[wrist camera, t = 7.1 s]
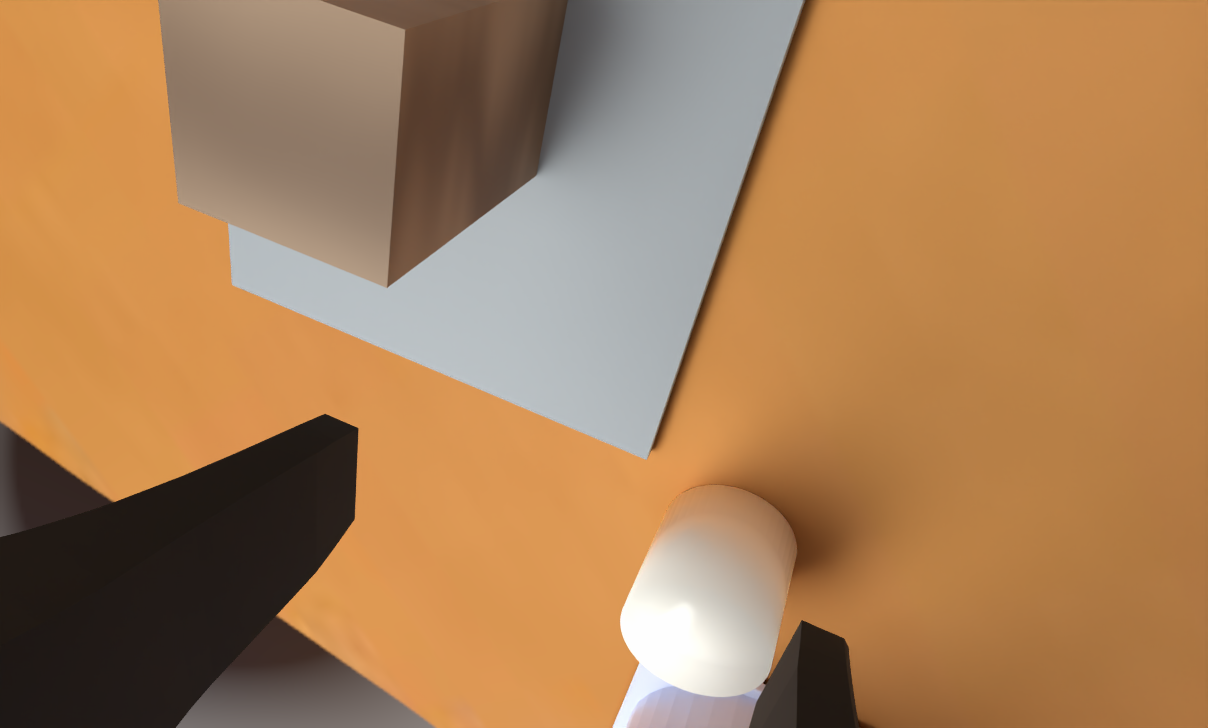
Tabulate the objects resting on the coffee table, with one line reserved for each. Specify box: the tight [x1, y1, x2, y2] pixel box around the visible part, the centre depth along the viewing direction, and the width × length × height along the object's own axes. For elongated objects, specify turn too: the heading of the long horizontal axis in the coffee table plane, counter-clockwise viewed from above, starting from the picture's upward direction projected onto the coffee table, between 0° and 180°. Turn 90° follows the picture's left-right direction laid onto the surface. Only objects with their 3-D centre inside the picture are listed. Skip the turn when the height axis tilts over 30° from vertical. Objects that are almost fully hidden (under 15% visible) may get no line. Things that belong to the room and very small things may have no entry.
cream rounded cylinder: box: [620, 485, 797, 697], centre depth 22 cm, size 4×4×4 cm
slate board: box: [228, 0, 805, 460], centre depth 19 cm, size 18×14×1 cm
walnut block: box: [158, 0, 568, 288], centre depth 16 cm, size 4×4×6 cm
